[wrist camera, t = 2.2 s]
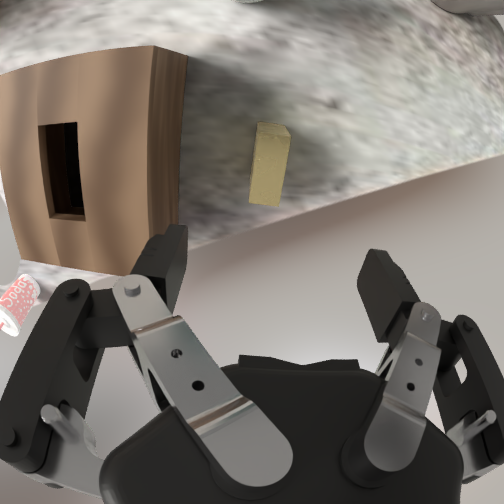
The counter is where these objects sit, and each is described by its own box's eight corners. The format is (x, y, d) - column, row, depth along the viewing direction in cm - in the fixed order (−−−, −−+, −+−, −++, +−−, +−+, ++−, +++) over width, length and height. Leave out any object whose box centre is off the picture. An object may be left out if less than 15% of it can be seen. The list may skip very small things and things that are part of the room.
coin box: (188, 55, 22) (153, 45, 14) (178, 223, 32) (152, 280, 24) (58, 68, 21) (-5, 77, 13) (66, 213, 31) (21, 259, 23)
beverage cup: (46, 284, 38) (3, 349, 26) (41, 304, 40) (5, 365, 29) (18, 263, 36) (-28, 323, 24) (16, 285, 38) (-24, 342, 26)
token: (283, 125, 26) (291, 136, 21) (274, 182, 29) (278, 206, 24) (257, 121, 26) (258, 132, 21) (249, 179, 29) (248, 202, 24)
